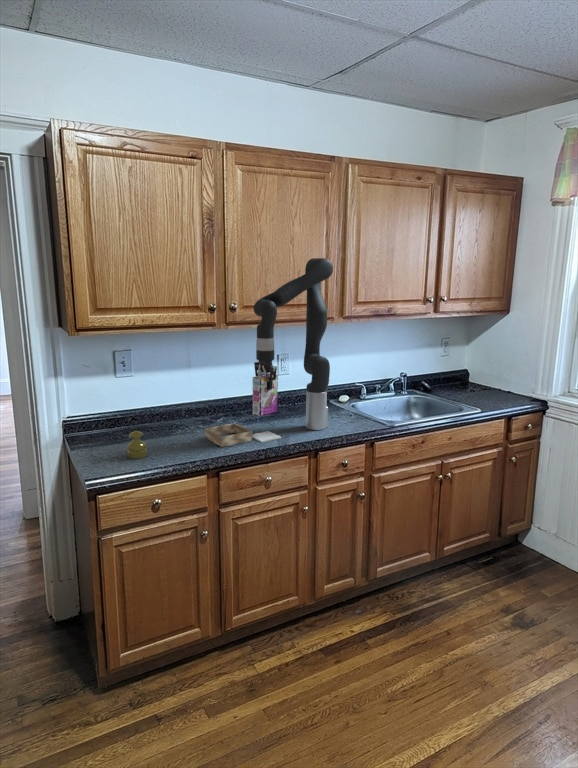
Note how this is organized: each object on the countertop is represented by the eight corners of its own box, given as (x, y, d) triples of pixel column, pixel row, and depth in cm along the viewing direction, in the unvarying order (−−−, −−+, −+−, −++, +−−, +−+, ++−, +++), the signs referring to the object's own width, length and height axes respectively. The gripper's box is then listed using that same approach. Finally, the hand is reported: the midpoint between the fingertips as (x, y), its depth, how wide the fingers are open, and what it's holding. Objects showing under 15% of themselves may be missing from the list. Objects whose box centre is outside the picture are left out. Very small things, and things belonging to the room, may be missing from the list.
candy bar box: (260, 417, 219) (260, 378, 215) (251, 415, 222) (251, 376, 218) (278, 411, 227) (278, 374, 224) (269, 409, 230) (269, 372, 227)
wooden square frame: (235, 431, 234) (234, 423, 233) (252, 440, 223) (252, 431, 222) (205, 437, 226) (205, 428, 225) (221, 446, 214) (221, 437, 213)
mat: (268, 432, 234) (268, 431, 233) (281, 438, 226) (281, 437, 225) (249, 436, 228) (249, 435, 228) (261, 442, 220) (261, 441, 220)
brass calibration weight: (149, 452, 207) (147, 428, 205) (144, 459, 200) (143, 434, 198) (130, 452, 207) (128, 428, 205) (125, 459, 200) (123, 434, 198)
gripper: (282, 350, 215) (282, 390, 218) (263, 345, 226) (263, 384, 230) (267, 351, 211) (267, 392, 214) (248, 347, 222) (248, 386, 226)
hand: (265, 388), depth 222 cm, fingers closed on candy bar box, 5 cm apart
